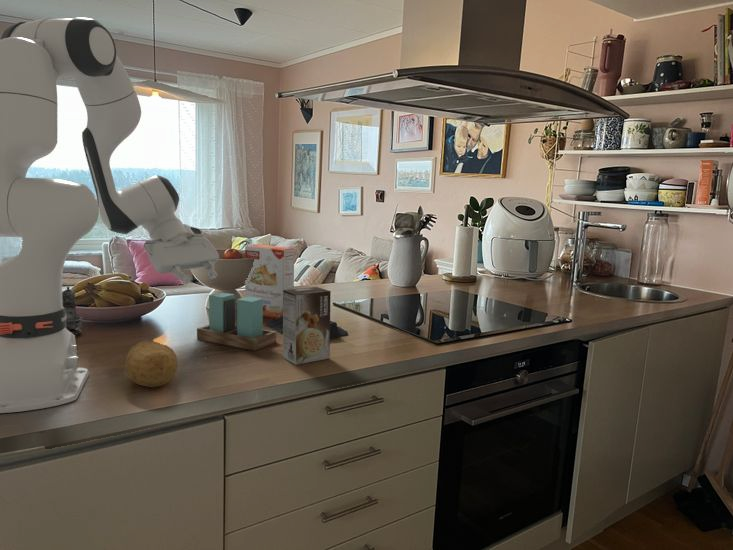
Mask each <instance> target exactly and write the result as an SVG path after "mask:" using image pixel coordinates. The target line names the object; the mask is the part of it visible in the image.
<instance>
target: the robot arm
mask: <svg viewBox="0 0 733 550" xmlns="http://www.w3.org/2000/svg"><path fill="white" fill-rule="evenodd" d="M57 80H73V81H75V83H76V86H77V90H78V92H79V95H80V97H81V101H82V102H83V104H84V106H85V109H86V116H87V119H86V120H87V121H86V127H85V128H84V129H83V131H82V135H81V140H82V144H83V151H84V153H85V159H86V162H87V165H88V169H89V172H90V173H89V174H90V176H91V180H92V183H93V188H94V190H95V194H96V196H95V194H94V192H93V191H92V189H91V188H90V187H89V186H87V185H86V184H82V183H79V182H75V181H73V180H72V181H71V180H66V179H61V178H47V177H46V178H43V177H42V178H41V177H39V178H38V177H26V176H27V173H28V171H29V169H30V167H31V166H32V165H33V164H34V163H35V162H36V161H38V160H39V159H43V158H45V157H47V156H48V155H50V154H51V153H52V152H53V151H54V150H55V148H56V147H57V144H58V88H57ZM141 117H142V108H141V104H140V100H139V97H138V94H137V92H136V90H135V87H134V85H133V82H132V80H131V78H130V76H129V74H128V72H127V70H126V67H124V64H123V62H122V61H121V59H120V57H119V56H118V55H117V49H116V43H115V41H114V38H113V36H112V34H111V33H110V31H109V30H108V29H107V28H106V27H105V26H104V25H103V24H102V23H101V22H100V21H98V20H95V19H93V18H90V17H89V18H88V17H80V16H79V17H73V18H68V17H67V18H65V17H64V18H63V17H62V18H58V17H57V18H53V17H47V18H40V19H35V20H31V21H27V22H26V21H20V22H17V23H15V24H14V23H13V24H11V25H10V26H9V27H7V28H6V29H5V30H4V31H3V33H2V34H1V37H0V238H1V237H3V238H22V243H21V249H20V252H19V253H18V254H17V255H14V256H12V257H10V258H8V259H6V260H5V261H2V262H1V263H0V414H6V413H17V412H18V413H19V412H25V411H26V412H27V411H33V410H34V411H35V410H40V409H45V408H46V409H47V408H51V407H52V408H53V407H56V406H61V405H64V404H68V403H71V402H74V401H76V400H77V399H78V397H79V395H80V394H81V391H82V389H83V387H84V385H85V383H86V381H87V379H88V377H89V375H90V374H89V369H88V368H86V367H80V359H79V356H78V355H77V352H78V344H76V343H77V342H76V335H74V334H72V333H71V332H69V331H68V330H67V329H66V318H67V317H66V312H65V308H64V307H63V304H62V292H63V273H64V271H63V270H64V267H65V262H66V260H67V258H68V256H69V253H70V251H72V249H73V247H74V246H75V245H76V244H77V243H78V241H79V240H81V239H82V238H83V237H85V236H86V235H87V234H89V233H90V232H91V231H92V230H93V229H94V227H95V226H96V223H97V222H98V220H99V215H100V218H101V221H102V223H103V224H104V225H105V226H106V227H107V229H108V230H109V231H110V232H113V233H117V234H122V235H127V234H129V233H131V232H132V231H134V230H136V229H138V228H139V227H142V228H143V229H144V230H146V231H147V232H148V236H149V237H150V239H151V240H149V239H148V240H146V241H144V243H143V249H144V250H145V251H146V254H147V257H148V260H149V262H150V263H151V265H152V267H153V269H154V270H155V271H156V272H157V273H159V274H168V273H171V274H172V276H173V277H176V279H179V280H180V281H181V282H182V284H183V285H187V284H190V282H192V277H191V276H190V274H189V273H185V272H183V271H187V270H193V269H194V270H195V269H199V268H205V270H207V274H206V275H207V277H208V278H209V279H210V280H212V279H213V280H214V279H216V278H217V277H218V273H217V271H216V270H215V265H216V263H217V262H218V261H219V260H220V254H219V252H218V251H217V249H216V248H215V245H213V243H212V242H211V241H210V240H209V239H208V238H206V237H205V236H204V235H205V232H204V231H203V230H202V229H201V228H198V227H194V226H190V225H189V224H186V223H183V222H182V220H181V219H180V218H178V217H177V216H176V215H175V212H176V211H177V209H178V207H179V202H180V196H179V193H178V191H177V190H176V188H175V186H174V185H173V184H172V183H171V182H170V180H169V179H168V178H166V177H163V176H162V175H158V174H155V175H152V176H148V177H146V178H144V179H142V180H140V181H138V182H136V183H134V184H132V185H129V186H127V187H125V188H122V189H119V190H117V188H116V185H115V181H114V177H113V173H112V169H111V164H110V161H111V157H112V155H113V153H114V152H115V150H116V149H118V147H119V145H120V144H121V143H123V142H124V140H126V139H127V138H128V137H130V135H131V134H132V133H133V132H134V131H135V130H136V129H137V127H138V125H139V123H140V120H141Z"/></svg>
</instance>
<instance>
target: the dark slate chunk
mask: <svg viewBox="0 0 733 550" xmlns="http://www.w3.org/2000/svg"><path fill="white" fill-rule="evenodd" d="M337 323H338V322H336V321H332V320H330V341H331V340H336V339H338V338H343V337H344V336H347V335H349V333H348V331H347V330H345V329H343V328H342V327H341V326H338V324H337ZM265 326H266V327H268V329H272V331H276V333H279V334H280V335H283V316H281V317H280V318H277V319H276V318H273V319H272V320H270V321H268V323H266V325H265Z"/></svg>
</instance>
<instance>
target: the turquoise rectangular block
mask: <svg viewBox="0 0 733 550" xmlns="http://www.w3.org/2000/svg"><path fill="white" fill-rule="evenodd" d="M263 323H264V316H263V299H262V298H255V297H249V296H248V297H245V296H244V297H242V298H238V299H237V302H235V324H236V335H239V336H244V337H250V338H257V337H260V336H262V335H263V329H264V328H263V326H264V324H263Z"/></svg>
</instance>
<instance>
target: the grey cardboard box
mask: <svg viewBox="0 0 733 550" xmlns="http://www.w3.org/2000/svg"><path fill="white" fill-rule="evenodd" d="M331 293H332V291H331V290H327V289H324V288H322V287H318V286H312V287H311V286H310V287H303V288H302V287H301V288H294V289H289V290H283V334H282V357H283V359H285V360H286V361H288V362H290V363H292V364H294V365H296V366H298V365H302V364H303V365H304V364H307V363H311V362H317V361H323V360H328V359H331V340H330V321H331Z"/></svg>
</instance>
